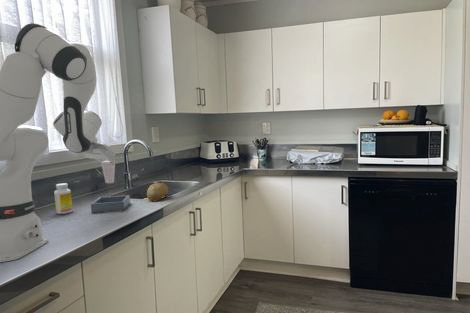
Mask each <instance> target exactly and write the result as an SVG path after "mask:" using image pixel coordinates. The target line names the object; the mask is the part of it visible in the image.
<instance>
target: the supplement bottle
mask: <svg viewBox="0 0 470 313" xmlns="http://www.w3.org/2000/svg"><path fill="white" fill-rule="evenodd" d="M68 185H69V184H68V183H66V182H64V183H63V182H62V183H57V184H55V188H56V190H54V191H53V192H54V193H53V194H54V202H55V211H56V214H58V215H65V214H70V213H72V212H73V211H74V210H73V201H72V200H73V199H72V190H71V189H70V188H68Z"/></svg>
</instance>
